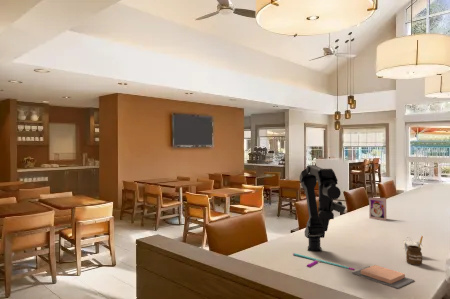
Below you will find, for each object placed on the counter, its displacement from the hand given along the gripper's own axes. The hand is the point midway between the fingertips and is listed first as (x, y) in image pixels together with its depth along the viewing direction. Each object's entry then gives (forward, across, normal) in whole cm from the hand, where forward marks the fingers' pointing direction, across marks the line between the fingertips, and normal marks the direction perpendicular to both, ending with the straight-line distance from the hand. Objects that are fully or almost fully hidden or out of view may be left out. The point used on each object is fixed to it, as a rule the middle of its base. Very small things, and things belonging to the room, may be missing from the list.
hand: (325, 231), depth 146 cm
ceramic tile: (+12, -16, -20) cm, 28 cm away
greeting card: (+13, +102, -40) cm, 110 cm away
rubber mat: (+13, -16, -20) cm, 29 cm away
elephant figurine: (+13, +17, -39) cm, 44 cm away
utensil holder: (+13, +5, -37) cm, 40 cm away
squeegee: (+14, -7, +4) cm, 16 cm away
